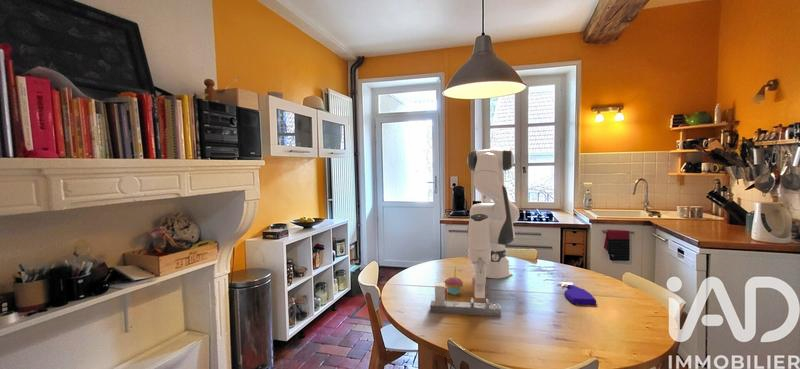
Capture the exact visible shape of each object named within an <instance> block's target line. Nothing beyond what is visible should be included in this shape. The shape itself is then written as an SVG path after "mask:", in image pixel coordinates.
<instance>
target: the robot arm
mask: <svg viewBox="0 0 800 369" xmlns="http://www.w3.org/2000/svg"><path fill="white" fill-rule="evenodd" d="M466 161H467V162H466V163H467V166H468V169H469V170H471V171H474V173H473V174H474V175H473V185H474V188H475V190H477V192H478V193H480V194H481V195H483V196H485V197H486V198H488V199H490V200H492V202H493V203H492V202H479V203H475V204H473V205H472V206H471V207H470V209H469V220H468V225H467V238H468V246H467V248H468V249H467V250H468V252H467V254H468V260H469V261H471V264H472V265H473V270H474V275H475V279H476V285H478V291H479V292H482V291H483V285H485V286H486V283H487V278H490V279H504V278H505V279H506V278H507V277H510V276H513V272H512V271H510V260H509V259H508V258H507V251H506V250H507V249H506V246H508V245H510V244H511V243H512V242H514V241H515V236H516V232H515V226H514V224H516V223H517V221H518V220H519V218H520V209H519V207H518V206H517V205H515V204H514V203H512V202H511V201H510V199H509V196H508V191H507V188H506V186H505V175H504V172H506V171H509V170H510V169H512V168H513V165H514V163H515V157H514V153H513V151H511V149H508V148H503V149H502V148H487V149H486V148H485V149H475V150H471V151H470V152H469V153H468V155H467V159H466Z"/></svg>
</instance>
